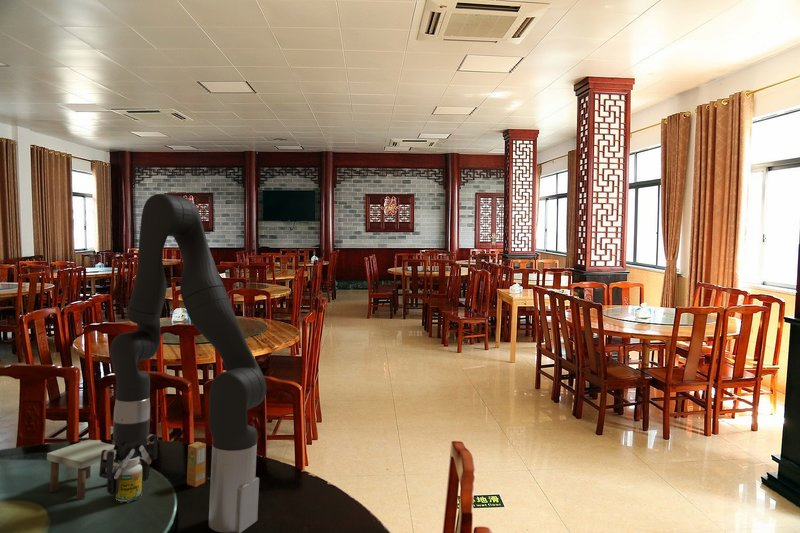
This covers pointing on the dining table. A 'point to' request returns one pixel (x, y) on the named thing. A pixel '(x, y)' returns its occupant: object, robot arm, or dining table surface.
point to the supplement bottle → (130, 480)
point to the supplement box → (196, 464)
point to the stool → (77, 462)
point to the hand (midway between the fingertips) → (128, 486)
